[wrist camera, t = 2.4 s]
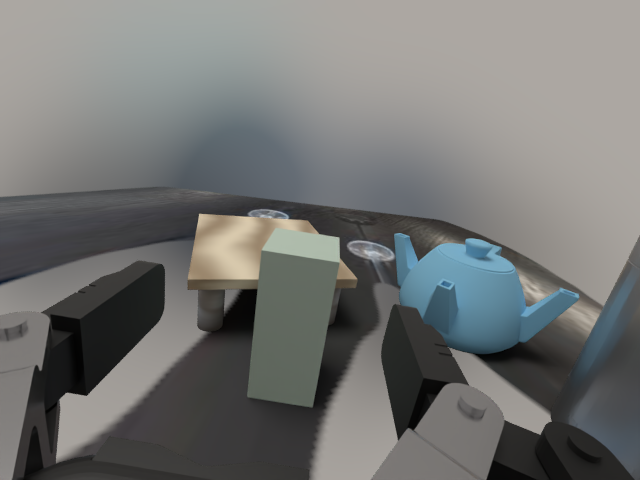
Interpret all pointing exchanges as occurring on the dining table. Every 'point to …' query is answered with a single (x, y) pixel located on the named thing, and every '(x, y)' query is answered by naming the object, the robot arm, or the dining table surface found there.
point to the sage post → (292, 315)
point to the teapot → (472, 295)
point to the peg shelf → (239, 261)
